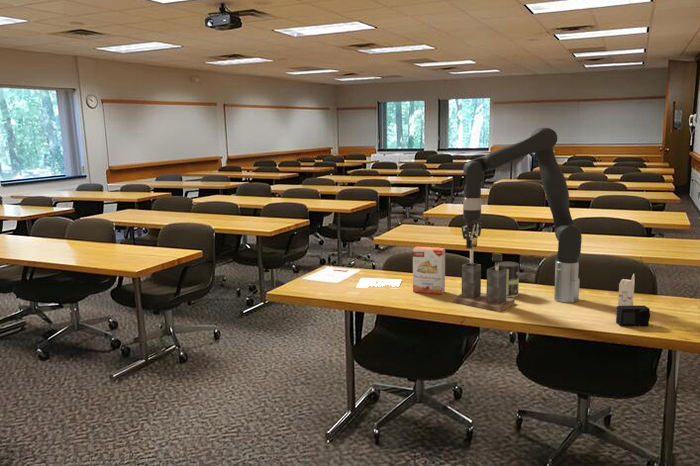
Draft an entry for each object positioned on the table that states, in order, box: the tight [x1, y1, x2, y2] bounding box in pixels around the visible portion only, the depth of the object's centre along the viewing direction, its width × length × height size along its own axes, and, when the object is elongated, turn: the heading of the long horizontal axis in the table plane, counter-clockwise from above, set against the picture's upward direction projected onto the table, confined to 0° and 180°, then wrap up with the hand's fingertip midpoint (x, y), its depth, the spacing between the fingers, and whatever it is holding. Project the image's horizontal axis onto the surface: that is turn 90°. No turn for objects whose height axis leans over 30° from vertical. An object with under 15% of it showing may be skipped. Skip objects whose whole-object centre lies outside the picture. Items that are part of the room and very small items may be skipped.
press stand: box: [452, 262, 515, 313], centre depth 242 cm, size 22×14×16 cm, turn 49°
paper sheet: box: [355, 277, 403, 289], centre depth 273 cm, size 24×29×1 cm
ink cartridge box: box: [617, 273, 636, 306], centre depth 229 cm, size 9×5×15 cm, turn 148°
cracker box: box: [412, 245, 446, 295], centre depth 260 cm, size 14×6×21 cm, turn 68°
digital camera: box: [615, 305, 651, 328], centre depth 212 cm, size 10×5×7 cm, turn 88°
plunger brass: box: [469, 237, 478, 267], centre depth 244 cm, size 4×4×18 cm
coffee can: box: [499, 260, 520, 298], centre depth 254 cm, size 10×10×14 cm
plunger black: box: [491, 252, 503, 271], centre depth 238 cm, size 4×4×18 cm
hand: (471, 247), depth 243 cm, fingers closed on plunger brass, 4 cm apart
